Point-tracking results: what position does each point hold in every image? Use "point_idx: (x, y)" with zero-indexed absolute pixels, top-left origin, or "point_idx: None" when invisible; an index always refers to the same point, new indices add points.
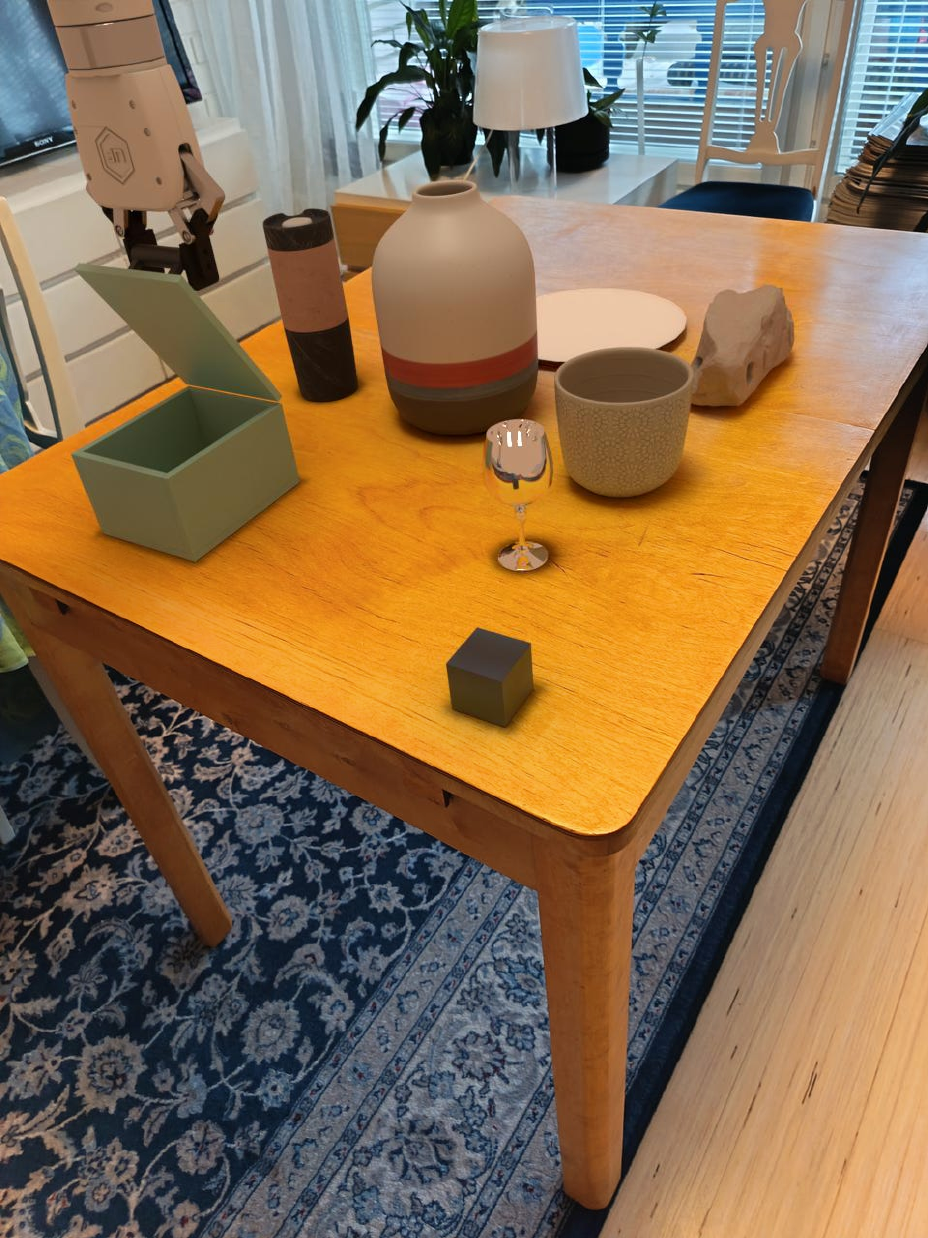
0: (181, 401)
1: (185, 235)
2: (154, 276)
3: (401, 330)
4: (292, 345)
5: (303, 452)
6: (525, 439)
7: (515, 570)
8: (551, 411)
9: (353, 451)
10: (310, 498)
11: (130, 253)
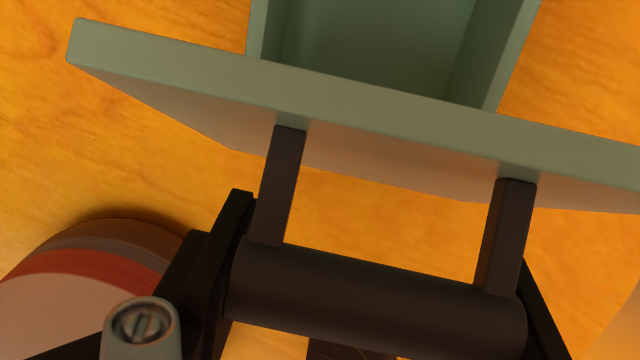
0: None
1: (148, 329)
2: (233, 68)
3: (78, 317)
4: (376, 358)
5: (304, 167)
6: None
7: None
8: None
9: (234, 177)
10: (226, 48)
11: (532, 322)
